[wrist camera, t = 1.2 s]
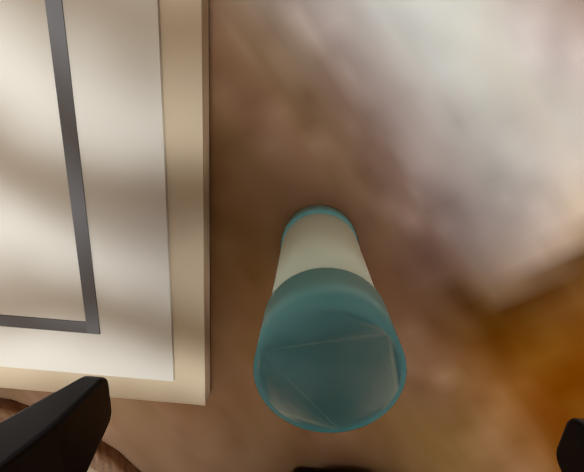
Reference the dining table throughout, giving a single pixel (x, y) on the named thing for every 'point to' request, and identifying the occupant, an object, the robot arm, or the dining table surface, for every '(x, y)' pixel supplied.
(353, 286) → the teal-banded white cylinder
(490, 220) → the dining table surface
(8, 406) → the trivet
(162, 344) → the board
